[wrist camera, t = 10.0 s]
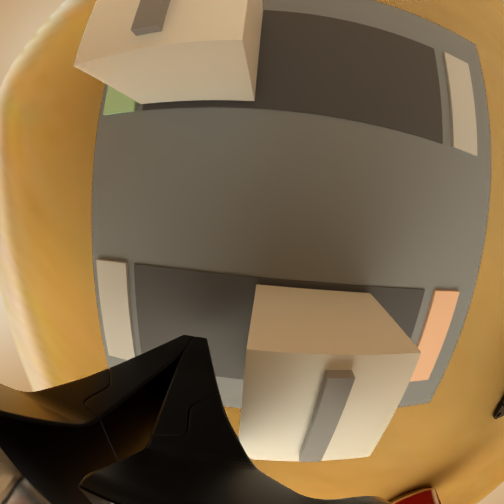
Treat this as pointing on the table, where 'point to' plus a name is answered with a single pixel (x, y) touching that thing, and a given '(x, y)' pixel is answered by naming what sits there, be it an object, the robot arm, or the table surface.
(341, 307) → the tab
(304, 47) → the switch board
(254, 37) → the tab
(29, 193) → the table surface
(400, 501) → the soda can
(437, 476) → the table surface
